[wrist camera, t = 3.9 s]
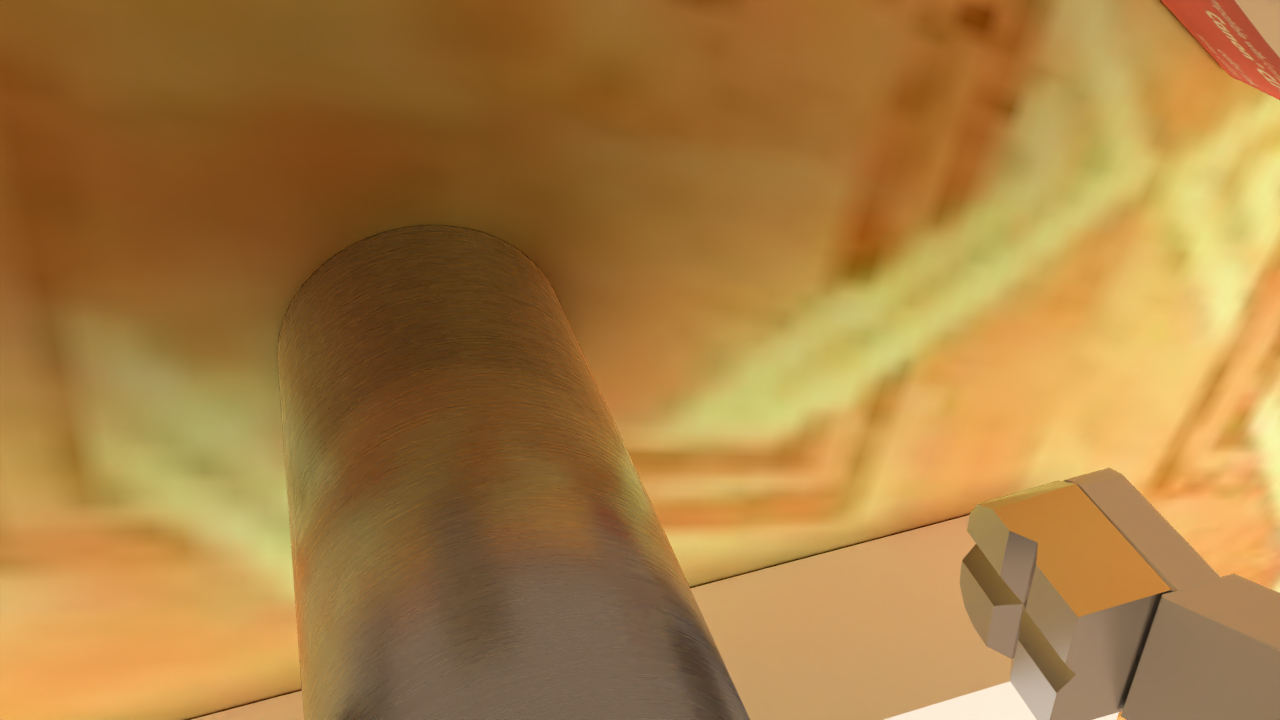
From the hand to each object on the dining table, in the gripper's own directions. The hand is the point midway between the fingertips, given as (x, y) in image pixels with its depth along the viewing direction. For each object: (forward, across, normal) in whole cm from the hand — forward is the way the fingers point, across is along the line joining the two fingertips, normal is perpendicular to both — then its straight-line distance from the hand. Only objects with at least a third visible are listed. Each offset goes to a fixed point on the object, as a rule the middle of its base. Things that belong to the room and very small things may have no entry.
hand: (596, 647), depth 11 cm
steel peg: (+7, +1, +1) cm, 8 cm away
